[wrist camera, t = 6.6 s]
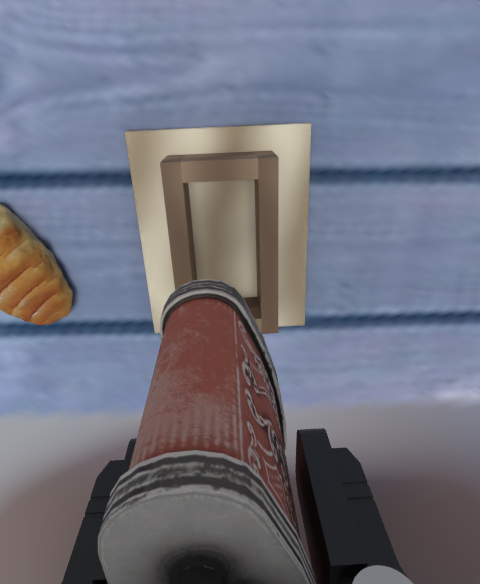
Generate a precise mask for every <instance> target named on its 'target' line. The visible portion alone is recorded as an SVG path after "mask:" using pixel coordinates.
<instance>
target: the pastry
mask: <svg viewBox="0 0 480 584" xmlns="http://www.w3.org/2000/svg"><path fill="white" fill-rule="evenodd" d="M72 299H73V291H72V290H71V288H70V286H69V285H68V283H67V281H66V279H65V278H64V276H63V273H62V271H61V269H60V268H59V266H58V264H57V262H56V259H55V256H54V254H53V252H52V251H50V250H49V249H47V248H46V247H45V246H44V244H43V243H42V242H41V241H40V240H39V239H38V238H37V237H36V235H35V234H34V233H33V232H32V230H31V229H30V228H29V227H28V226H27V225H26V224H25V223H24V222H23V221H22V220H20V218H19V217H18V216H16V215H15V214H14V213H12V212H11V211H10V210H9V209H8V208H6V207H5V206H4V205H2V204H0V310H2V311H4V312H5V313H7V314H9V315H13V316H15V317H18V318H20V319H22V320H24V321H28V322H32V323H34V324H36V325H45V324H51V323H53V322H56V321H58V320H60V319H62V318H63V317H66V316H67V315H68V314H69V313H70V312H71V309H72Z"/></svg>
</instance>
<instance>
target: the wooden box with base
mask: <svg viewBox="0 0 480 584" xmlns="http://www.w3.org/2000/svg"><path fill="white" fill-rule="evenodd" d="M125 137H126V144H127V151H128V157H129V164H130V171H131V177H132V184H133V191H134V197H135V204H136V211H137V217H138V224H139V231H140V237H141V244H142V251H143V257H144V264H145V271H146V277H147V284H148V291H149V297H150V304H151V311H152V317H153V324H154V330H155V333H160V319H161V315H162V312H163V308H164V305H165V303H166V301H167V299H168V298H169V296H170V294H171V293H173V292H174V291H175V290H176V289H177V288H179V287H180V286H181V285H184V284H186V283H189V282H191V281H193V280H201V279H213V280H219V281H223V282H225V283H227V284H229V285H231V286H233V287H235V288H236V290H237V291H238V292H239V293H240V294H241V295H242V297H243V299H244V300H245V302H246V304H247V306H248V308H249V310H250V312H251V314H252V316H253V317H254V319H255V321H256V323H257V325H258V327H259V329H260V331H261V333H262V334H266V333H278V327H280V326H298V325H305V296H306V265H307V235H308V205H309V174H310V144H311V123H288V124H265V125H243V126H221V127H198V128H176V129H154V130H132V131H126V132H125Z"/></svg>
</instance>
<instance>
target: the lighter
mask: <svg viewBox="0 0 480 584" xmlns="http://www.w3.org/2000/svg"><path fill="white" fill-rule="evenodd" d="M160 335H161V341H162V342H161V346H160V350H159V354H158V357H157V361H156V365H155V369H154V373H153V377H152V381H151V385H150V389H149V393H148V397H147V401H146V405H145V409H144V412H143V417H142V420H141V425H140V428H139V432H138V436H137V440H136V444H135V448H134V452H133V456H132V460H131V464H130V468H129V471H127V472H126V473H125V474H123V475H122V476H121V477H120V478H119V480H118V482H117V483H116V485H115V486H114V488H113V490H112V491H111V493H110V497H109V500H108V504H107V507H106V511H105V514H104V518H103V521H102V525H101V528H100V532H99V535H98V555H99V558H100V561H101V564H102V567H103V570H104V573H105V576H106V579H107V582H108V584H318V581H317V579H316V576H315V574H314V572H313V569H312V567H311V565H310V563H309V560H308V558H307V556H306V553H305V551H304V548H303V546H302V544H301V540H300V535H299V530H298V523H297V518H296V512H295V506H294V501H293V495H292V490H291V484H290V478H289V474H288V467H287V462H286V458H287V451H286V422H285V417H284V411H283V406H282V400H281V395H280V389H279V384H278V379H277V374H276V370H275V367H274V365H273V362H272V359H271V357H270V354H269V351H268V348H267V346H266V343H265V340H264V337H263V335H262V333H261V331H260V329H259V327H258V325H257V323H256V321H255V319H254V317H253V316H252V314H251V312H250V310H249V308H248V306H247V304H246V302H245V300H244V299H243V297H242V295H241V294H240V293H239V292H238V291H237V290H236V288H235V287H233V286H231V285H229V284H227V283H225V282H223V281H219V280H213V279H201V280H193V281H191V282H189V283H186V284H184V285H181V286H180V287H179V288H177V289H176V290H175V291H174V292H173V293H171V294H170V296H169V298H168V299H167V301H166V303H165V305H164V308H163V312H162V315H161V319H160Z"/></svg>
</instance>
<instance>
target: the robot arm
mask: <svg viewBox="0 0 480 584" xmlns="http://www.w3.org/2000/svg"><path fill="white" fill-rule="evenodd" d="M136 440H137V439H131V440H130V442H129V445H128V448H127V452H126V456H125V460H115V461H110V462H109V463H108V464H107V466H106V467H105V468H104V469H103V471H102V472H101V473H100V474H99V476H98V477H97V479H96V482H95V485H94V488H93V491H92V494H91V500H90V501H89V503H88V506H87V509H86V512H85V517H84V519H83V521H82V524H81V527H80V530H79V533H78V536H77V539H76V543H75V545H74V548H73V551H72V554H71V557H70V560H69V563H68V566H67V570H66V572H65V575H64V579H63V582H62V584H108V582H107V579H106V576H105V573H104V570H103V567H102V564H101V561H100V558H99V555H98V535H99V532H100V528H101V525H102V521H103V518H104V514H105V511H106V507H107V504H108V500H109V497H110V493H111V491H112V490H113V488H114V486H115V485H116V483H117V482H118V480H119V478H120V477H121V476H122V475H123V474H125V473H126V472H127V471H129V468H130V464H131V460H132V456H133V452H134V448H135V444H136ZM296 444H297V445H296V484H297V491H298V497H299V502H300V507H301V513H302V518H303V523H304V528H305V533H306V538H307V544H308V548H309V554H310V559H311V564H312V569H313V572H314V574H315V576H316V579H317V581H318V584H414V583H413V582H412V581H411V580H410V579H409V578H408V577H407V576H406V574H405V573H404V572H403V570H402V568H401V567H400V565H399V563H398V561H397V558H396V556H395V553H394V551H393V548H392V545H391V543H390V540H389V537H388V535H387V532H386V530H385V528H384V524H383V522H382V519H381V516H380V514H379V511H378V509H377V506H376V503H375V501H374V500H373V495H372V493H371V490H370V488H369V485H368V484H367V480H366V477H365V474H364V472H363V469H362V467H361V464H360V462H359V461H358V460H357V459H356V458H355V457H354V456H353V454H352V453H351V452H350V451H349V450H348V449H347V448H331V445H330V442H329V439H328V436H327V433H326V430H325V429H324V428H323V429H305V430H297V443H296Z"/></svg>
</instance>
